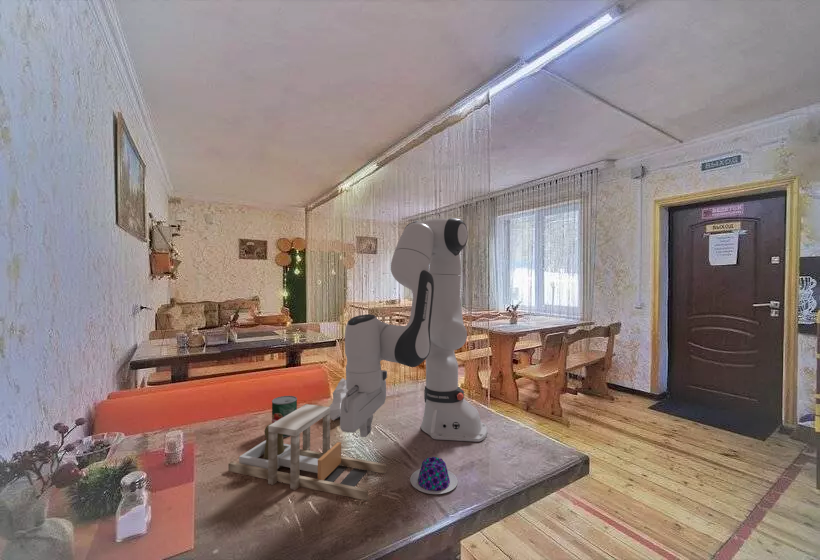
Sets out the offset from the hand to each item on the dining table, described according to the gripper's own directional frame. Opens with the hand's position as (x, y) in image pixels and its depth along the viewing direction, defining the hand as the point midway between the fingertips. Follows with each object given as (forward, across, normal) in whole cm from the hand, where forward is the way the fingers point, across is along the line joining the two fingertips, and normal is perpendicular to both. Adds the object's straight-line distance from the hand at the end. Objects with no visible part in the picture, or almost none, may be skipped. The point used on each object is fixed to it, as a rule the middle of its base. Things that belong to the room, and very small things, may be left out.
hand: (365, 434), depth 88 cm
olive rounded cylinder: (+11, 0, +28) cm, 30 cm away
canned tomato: (+11, +18, +38) cm, 43 cm away
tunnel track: (+11, -1, +17) cm, 20 cm away
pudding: (+13, +5, -16) cm, 21 cm away
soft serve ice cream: (+12, +37, +27) cm, 48 cm away
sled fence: (+11, -1, +22) cm, 25 cm away
